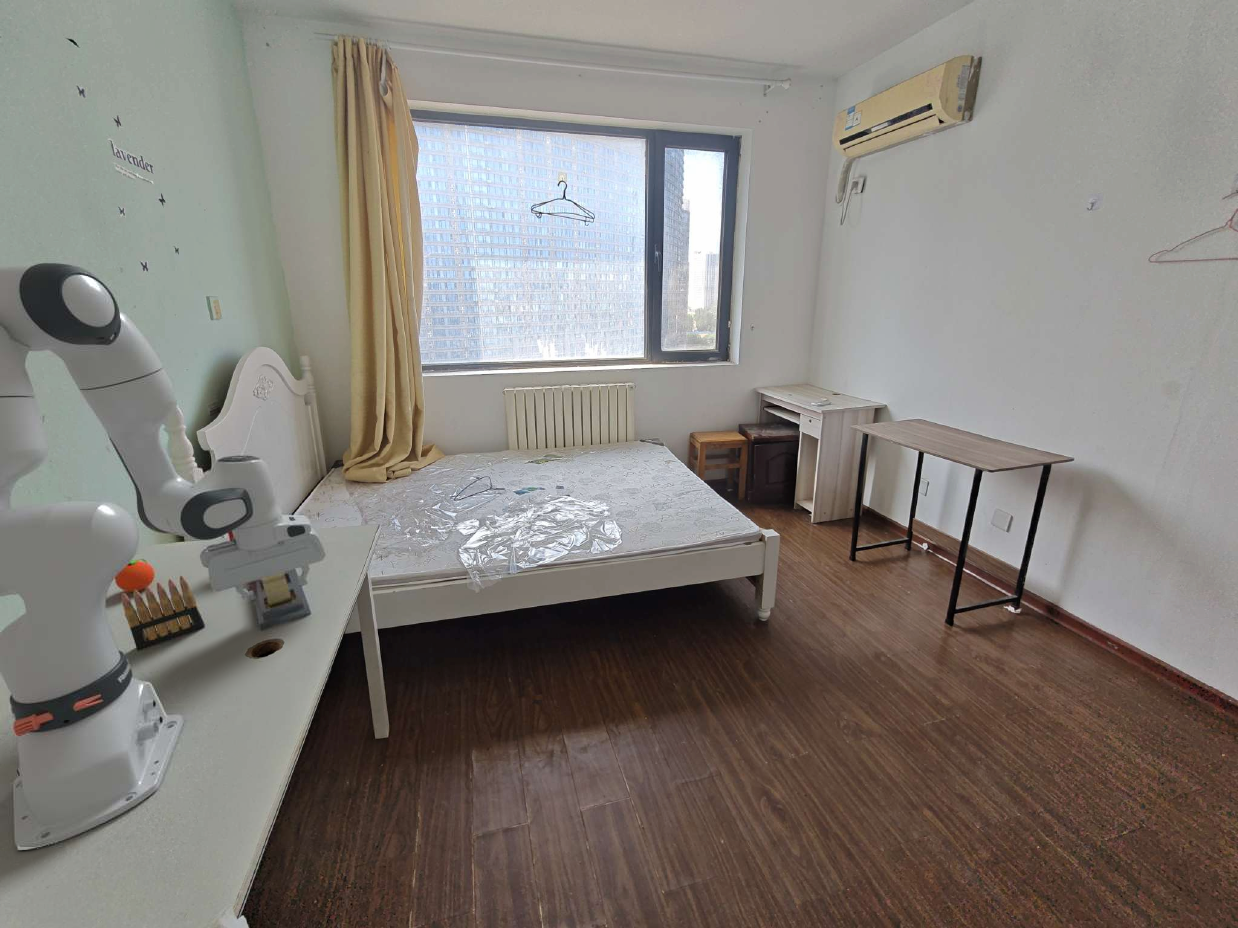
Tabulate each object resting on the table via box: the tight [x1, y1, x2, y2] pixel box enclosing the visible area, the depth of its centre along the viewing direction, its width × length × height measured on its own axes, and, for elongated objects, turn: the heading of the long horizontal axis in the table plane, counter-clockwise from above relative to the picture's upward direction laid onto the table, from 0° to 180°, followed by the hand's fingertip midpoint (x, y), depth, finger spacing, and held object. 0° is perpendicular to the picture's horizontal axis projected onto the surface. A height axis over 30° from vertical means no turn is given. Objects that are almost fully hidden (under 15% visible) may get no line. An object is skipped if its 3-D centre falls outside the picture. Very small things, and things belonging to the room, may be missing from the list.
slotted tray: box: [250, 568, 312, 631], centre depth 122 cm, size 28×9×3 cm, turn 36°
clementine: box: [114, 558, 156, 593], centre depth 127 cm, size 8×7×7 cm
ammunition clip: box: [121, 575, 206, 651], centre depth 107 cm, size 11×2×12 cm, turn 130°
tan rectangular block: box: [262, 572, 292, 608], centre depth 114 cm, size 4×4×6 cm
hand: (277, 592), depth 114 cm, fingers open, 8 cm apart
